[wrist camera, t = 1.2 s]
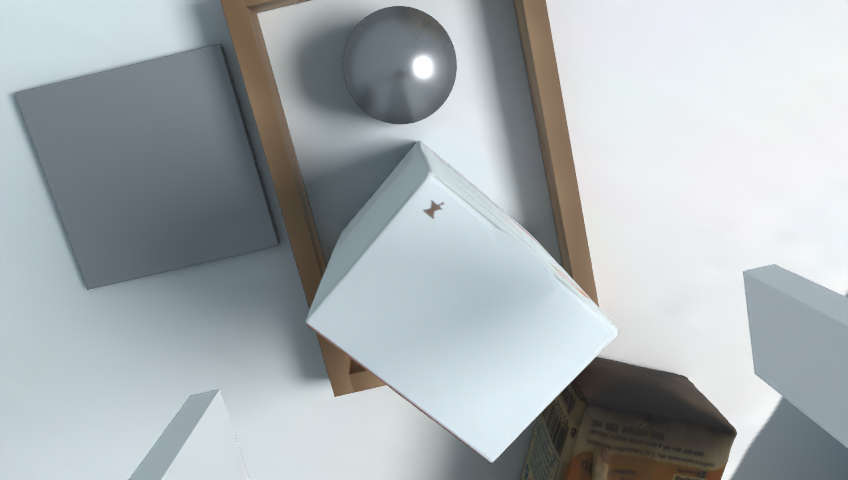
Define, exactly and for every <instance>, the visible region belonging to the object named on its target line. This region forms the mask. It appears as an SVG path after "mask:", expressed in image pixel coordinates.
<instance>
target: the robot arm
mask: <svg viewBox="0 0 848 480" xmlns="http://www.w3.org/2000/svg"><path fill="white" fill-rule="evenodd" d="M743 277H744V285H745V294H746V303H747V311H748V320H749V329H750V337H751V346H752V355H753V363H754V372H755V374H756V375H757V376H758V377H759V378H761V379H762V380H763V381H765V382H766V383H767V384H768V385H770V386H771V387H772V388H773V389H775V390H776V391H777V392H778V393H780V394H781V395H782V396H783V397H785V398H786V399H787V400H788V401H790V402H791V403H792V404H793V405H795V406H796V407H797V408H798V409H800V410H801V411H802V412H803V413H805V414H806V415H807V416H808V417H810V418H811V419H812V420H813V421H815V422H816V423H817V424H818V425H820V426H821V427H822V428H823V429H825V430H826V431H827V432H828V433H830V434H831V435H832V436H833V437H835V438H836V439H837V440H838V441H840V442H841V443H842V444H844V445H845V446H846V447H847V448H848V298H847V297H845V296H843V295H841V294H838V293H836V292H834V291H832V290H830V289H827V288H825V287H823V286H821V285H819V284H816V283H814V282H812V281H810V280H808V279H805V278H803V277H801V276H799V275H797V274H795V273H792V272H790V271H788V270H786V269H784V268H781V267H779V266H777V265H775V264H773V265H769V266H764V267H760V268H755V269H751V270H746V271H743ZM129 480H250V477H249V474H248V471H247V468H246V465H245V462H244V459H243V456H242V453H241V450H240V447H239V444H238V441H237V438H236V435H235V432H234V430H233V427H232V424H231V421H230V418H229V415H228V412H227V409H226V406H225V403H224V400H223V397H222V394H221V391H220V389H218V390H213V391H209V392H204V393H200V394H195V395H191V396H190V397H189V398H188V399H187V401H186V402H185V403H184V405H183V406H182V408H181V409H180V410H179V412H178V413H177V414H176V416H175V417H174V418H173V420H172V421H171V422H170V424H169V425H168V427H167V428H166V429H165V431H164V432H163V433H162V435H161V436H160V437H159V439H158V440H157V442H156V443H155V444H154V446H153V447H152V448H151V450H150V451H149V452H148V454H147V455H146V457H145V458H144V459H143V461H142V462H141V463H140V465H139V466H138V467H137V469H136V470H135V472H134V473H133V474H132V476H131V477H130V478H129Z"/></svg>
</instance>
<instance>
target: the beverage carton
mask: <svg viewBox="0 0 848 480" xmlns="http://www.w3.org/2000/svg"><path fill="white" fill-rule="evenodd" d="M736 435H737V432H736V429H735V428H734V427H733V426H732V425H731V424H730V423H729V422H728V420H727V419H726V418H725V417H724V416H723V415H722V414H721V413H720V412H719V411H718V410H717V408H716V407H715V406H714V405H713V404H712V403H711V402H710V401H709V400H708V399H707V398H706V397H705V396H704V395H703V394H702V393H701V392H700V391H699V390H698V389H697V388H696V387H695V386H694V384H693V383H692V382H690V381H689V380H688V378H687V377H685V376H682V375H678V374H674V373H669V372H664V371H658V370H652V369H648V368H643V367H639V366H634V365H630V364H626V363H622V362H618V361H614V360H609V359H603V358H598V357H595V358H594V359H593V360H592V361H591V362H590V363H589V364H588V365H587V366H586V367H585V368H584V369H583V370H582V372H581V373H580V374H579V375H578V376H577V377H576V378H575V379H574V380H573V381H572V382H571V383H570V384H569V385H568V386H567V387H566V388H565V389H564V390H563V391H562V392H561V393H560V394H559V395H558V396H557V397H556V398H555V399H554V400H553V401H552V402H551V403H550V404H549V405H548V406H547V407H546V408H545V409H544V410H543V411H542V412H541V413H540V414H539V415H538V417H537V421H536V425H535V428H534V432H533V435H532V439H531V443H530V446H529V450H528V454H527V458H526V462H525V465H524V468H523V472H522V477H521V480H721V477H722V475H723V472H724V469H725V466H726V464H727V462H728V457H729V453H730V449H731V446H732V444H733V441H734V439H735V437H736Z"/></svg>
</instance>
